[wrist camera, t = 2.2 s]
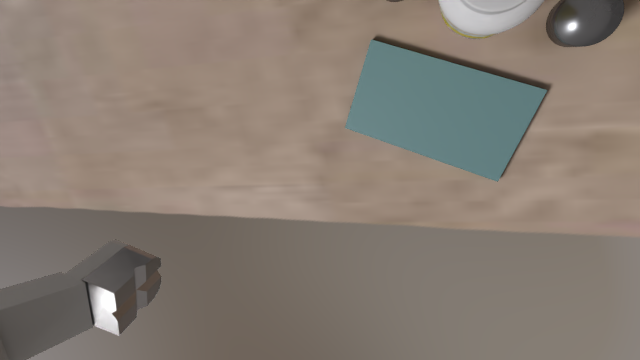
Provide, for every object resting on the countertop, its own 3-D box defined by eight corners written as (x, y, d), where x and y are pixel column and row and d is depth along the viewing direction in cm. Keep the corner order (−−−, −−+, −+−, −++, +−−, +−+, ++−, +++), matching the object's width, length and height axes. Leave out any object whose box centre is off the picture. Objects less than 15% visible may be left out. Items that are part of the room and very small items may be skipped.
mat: (346, 126, 36) (344, 127, 36) (372, 39, 33) (371, 39, 32) (496, 179, 33) (497, 181, 33) (545, 89, 29) (547, 90, 29)
